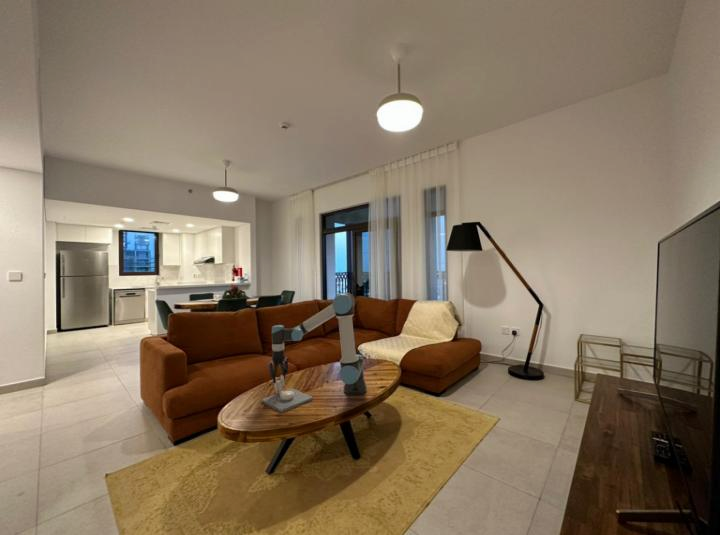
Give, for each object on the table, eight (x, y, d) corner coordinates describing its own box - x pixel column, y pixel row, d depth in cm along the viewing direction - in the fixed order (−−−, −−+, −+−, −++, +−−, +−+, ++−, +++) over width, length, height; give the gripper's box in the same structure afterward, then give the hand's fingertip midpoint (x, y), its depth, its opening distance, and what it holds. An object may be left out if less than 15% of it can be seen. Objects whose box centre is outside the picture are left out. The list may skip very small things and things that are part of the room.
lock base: (312, 399, 174) (312, 396, 174) (281, 412, 158) (281, 409, 158) (292, 390, 189) (292, 387, 189) (261, 401, 173) (261, 399, 173)
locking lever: (296, 397, 173) (296, 386, 174) (284, 401, 168) (284, 389, 168) (283, 389, 186) (283, 379, 186) (271, 393, 181) (271, 382, 181)
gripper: (287, 346, 191) (288, 381, 191) (262, 351, 179) (263, 389, 179) (293, 348, 186) (294, 384, 185) (268, 353, 174) (269, 392, 173)
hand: (279, 386), depth 182 cm, fingers closed on locking lever, 4 cm apart
